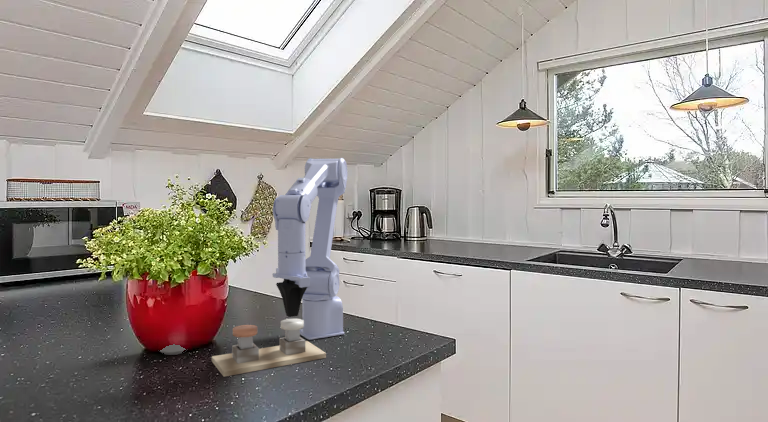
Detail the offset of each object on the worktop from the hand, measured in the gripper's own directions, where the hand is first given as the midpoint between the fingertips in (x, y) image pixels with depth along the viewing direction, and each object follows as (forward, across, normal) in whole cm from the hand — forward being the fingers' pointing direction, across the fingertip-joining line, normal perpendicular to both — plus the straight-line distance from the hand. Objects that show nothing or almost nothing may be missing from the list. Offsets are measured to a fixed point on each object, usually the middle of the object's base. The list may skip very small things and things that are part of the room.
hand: (292, 315), depth 107 cm
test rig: (+8, 0, -5) cm, 10 cm away
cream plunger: (+5, 0, 0) cm, 5 cm away
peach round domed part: (+5, 0, -10) cm, 11 cm away
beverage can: (+9, -16, -21) cm, 28 cm away
